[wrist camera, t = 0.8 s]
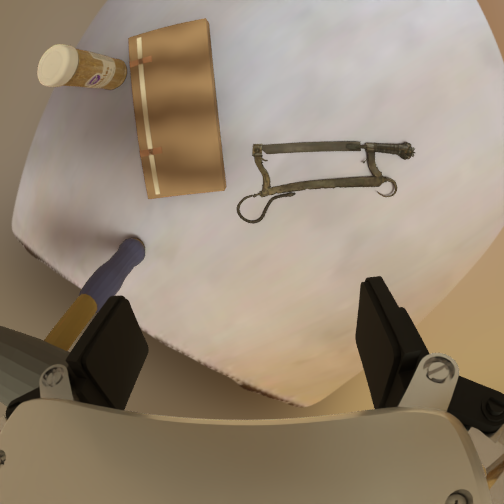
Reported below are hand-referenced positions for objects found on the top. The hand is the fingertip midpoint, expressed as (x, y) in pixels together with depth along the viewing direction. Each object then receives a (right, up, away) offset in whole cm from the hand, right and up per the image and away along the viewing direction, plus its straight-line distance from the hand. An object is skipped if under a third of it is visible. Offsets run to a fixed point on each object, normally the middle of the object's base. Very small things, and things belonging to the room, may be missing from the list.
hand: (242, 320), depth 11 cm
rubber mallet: (-17, +3, +30) cm, 34 cm away
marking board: (-9, +20, +21) cm, 31 cm away
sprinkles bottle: (-18, +26, +19) cm, 37 cm away
